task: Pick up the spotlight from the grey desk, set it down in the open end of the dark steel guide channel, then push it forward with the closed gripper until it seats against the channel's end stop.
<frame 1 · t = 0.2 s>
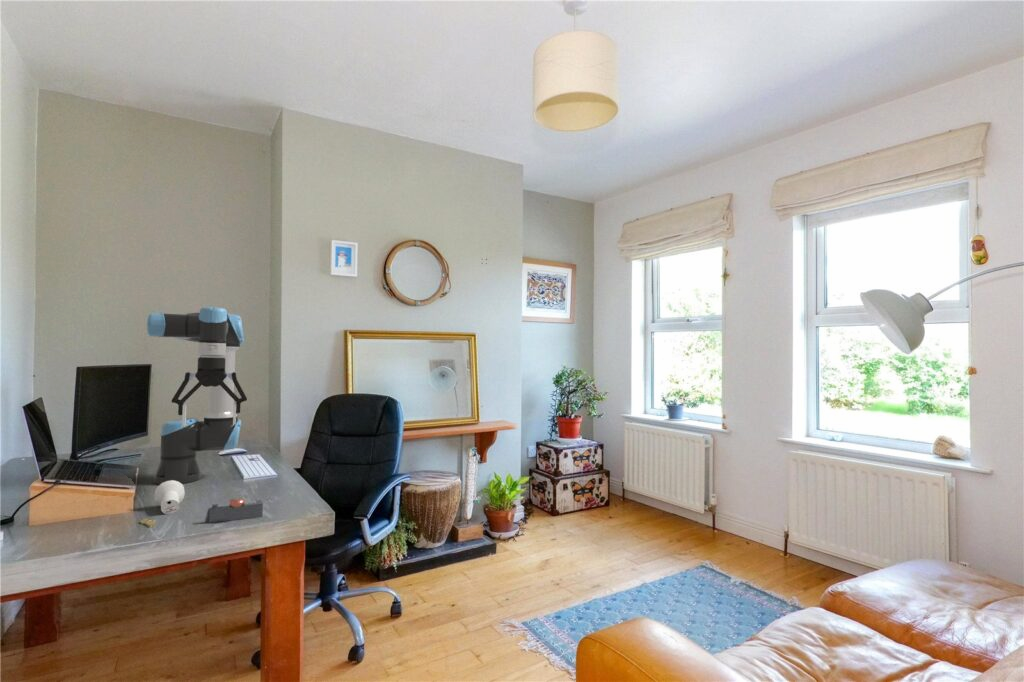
hand: (209, 424, 161), 27 cm above the table, fingers open, 13 cm apart
spotlight: (169, 509, 163), on the table
channel: (236, 512, 161), on the table
brass key: (150, 525, 148), on the table
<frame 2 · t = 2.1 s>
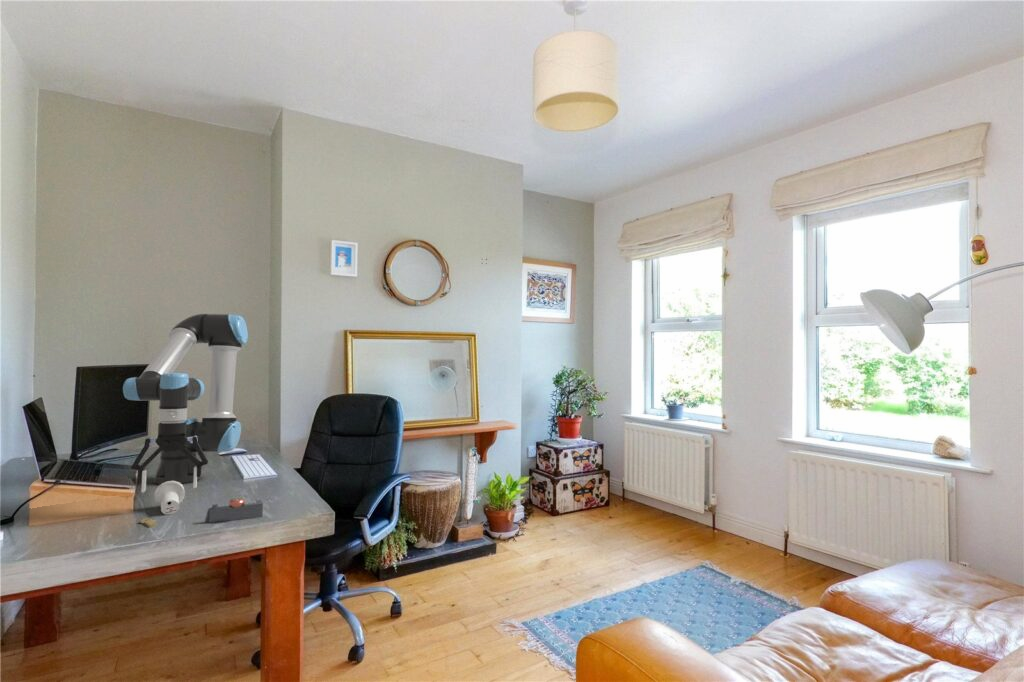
hand: (169, 489, 163), 6 cm above the table, fingers open, 13 cm apart
nothing on the table moved.
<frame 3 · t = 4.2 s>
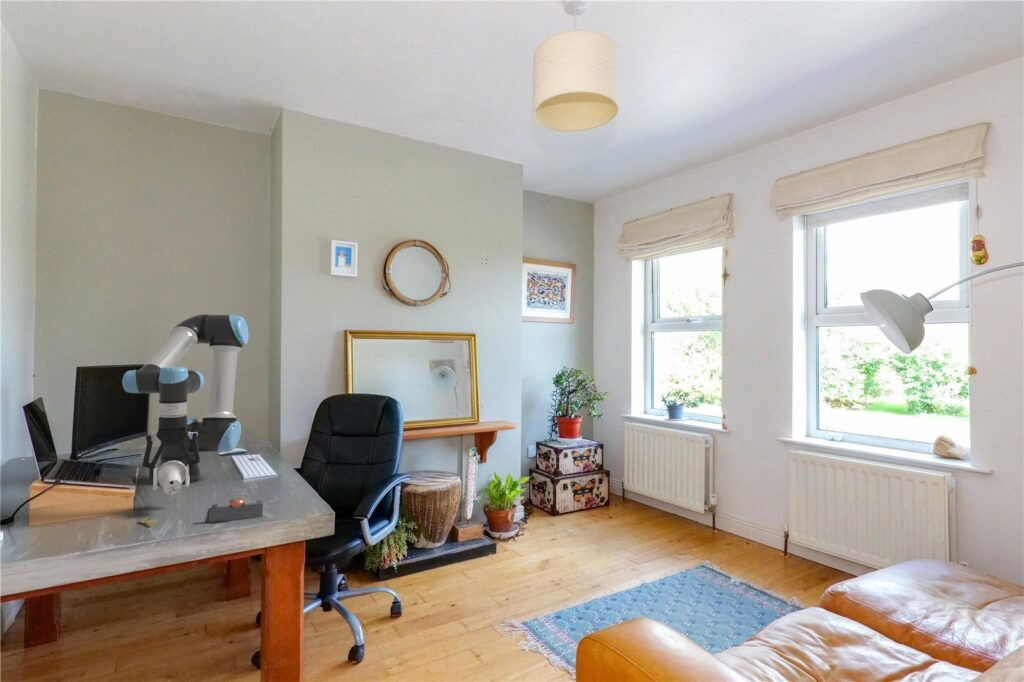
hand: (171, 486, 164), 7 cm above the table, fingers closed on spotlight, 8 cm apart
spotlight: (172, 489, 163), point 6 cm above the table, touching gripper
everything else where it was.
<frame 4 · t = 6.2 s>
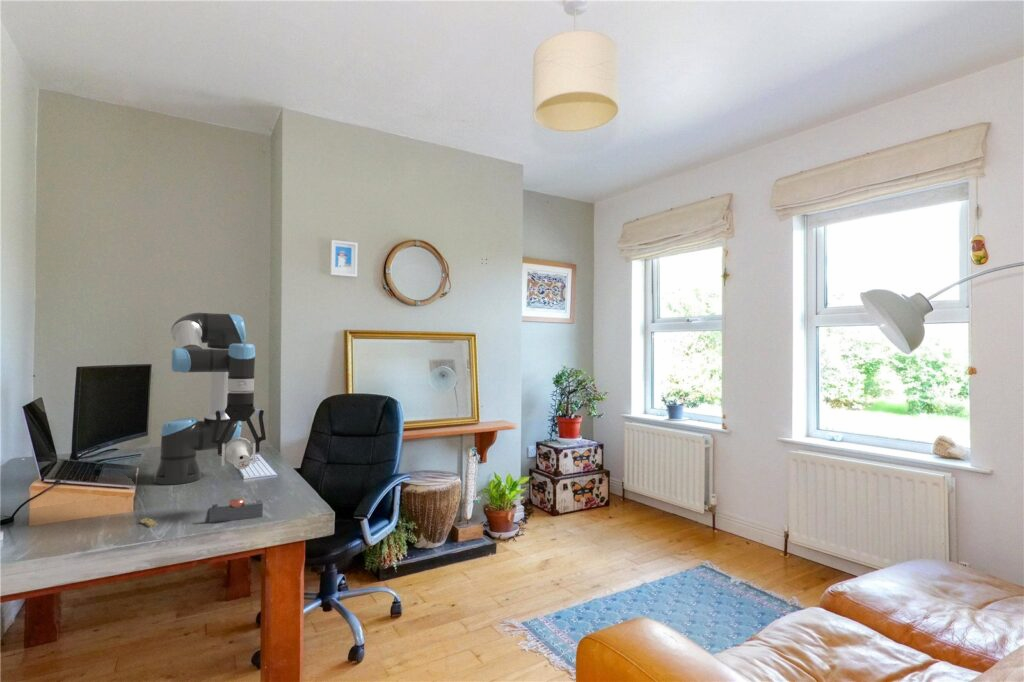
hand: (238, 463, 163), 15 cm above the table, fingers closed on spotlight, 8 cm apart
spotlight: (239, 466, 162), point 14 cm above the table, touching gripper
everything else where it was.
when the fingers open (2 cm above the table, at t = 8.5 s): spotlight stays where it is, resting on channel.
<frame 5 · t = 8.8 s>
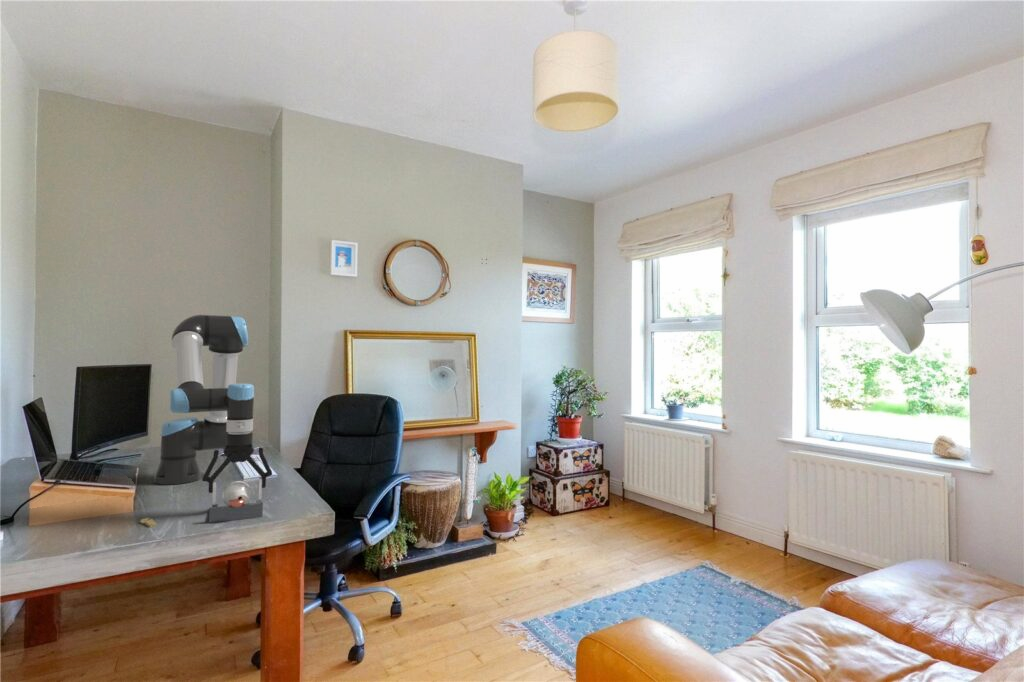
hand: (237, 500, 163), 3 cm above the table, fingers open, 12 cm apart
spotlight: (238, 509, 162), point 1 cm above the table, touching channel
everything else where it was.
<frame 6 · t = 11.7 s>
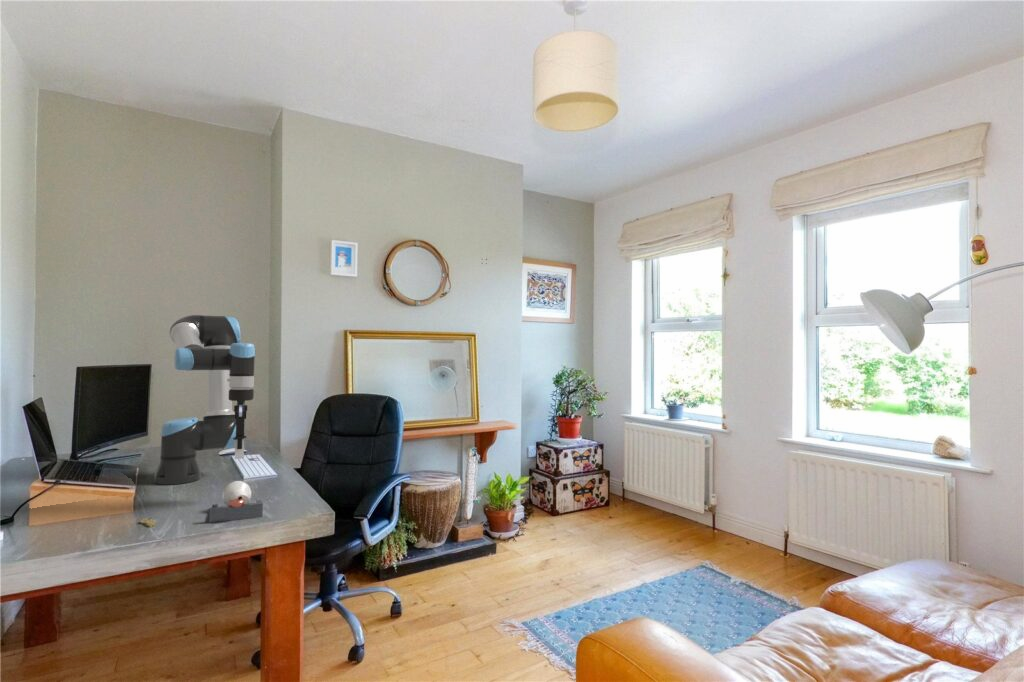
hand: (239, 458, 174), 14 cm above the table, fingers closed
nothing on the table moved.
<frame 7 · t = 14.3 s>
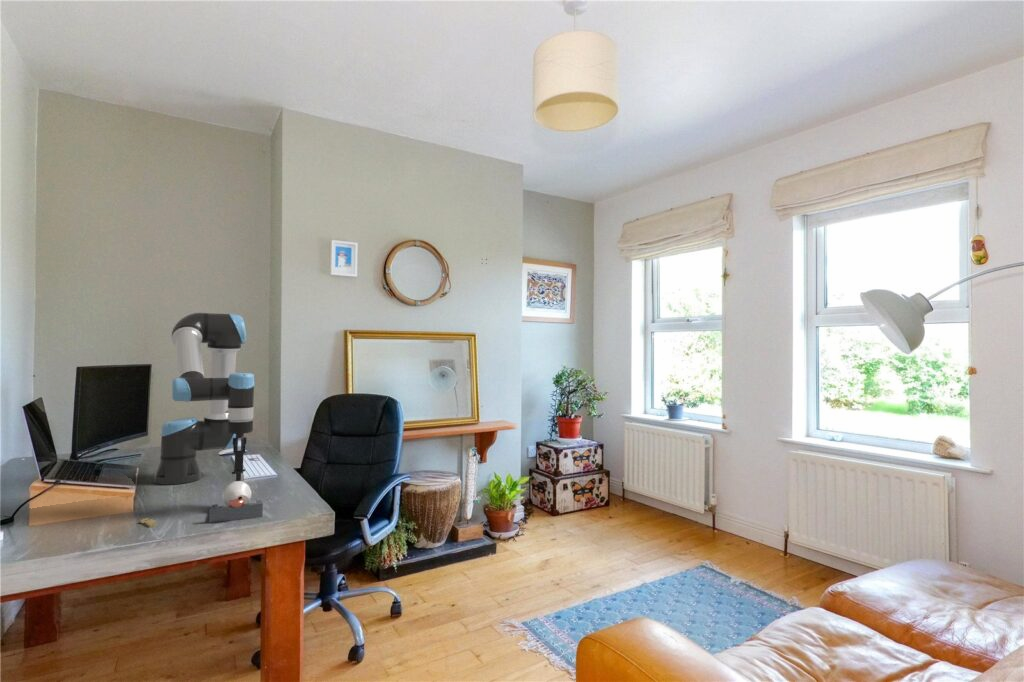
hand: (237, 492, 168), 4 cm above the table, fingers closed
spotlight: (238, 509, 162), point 1 cm above the table, touching channel, gripper
everything else where it was.
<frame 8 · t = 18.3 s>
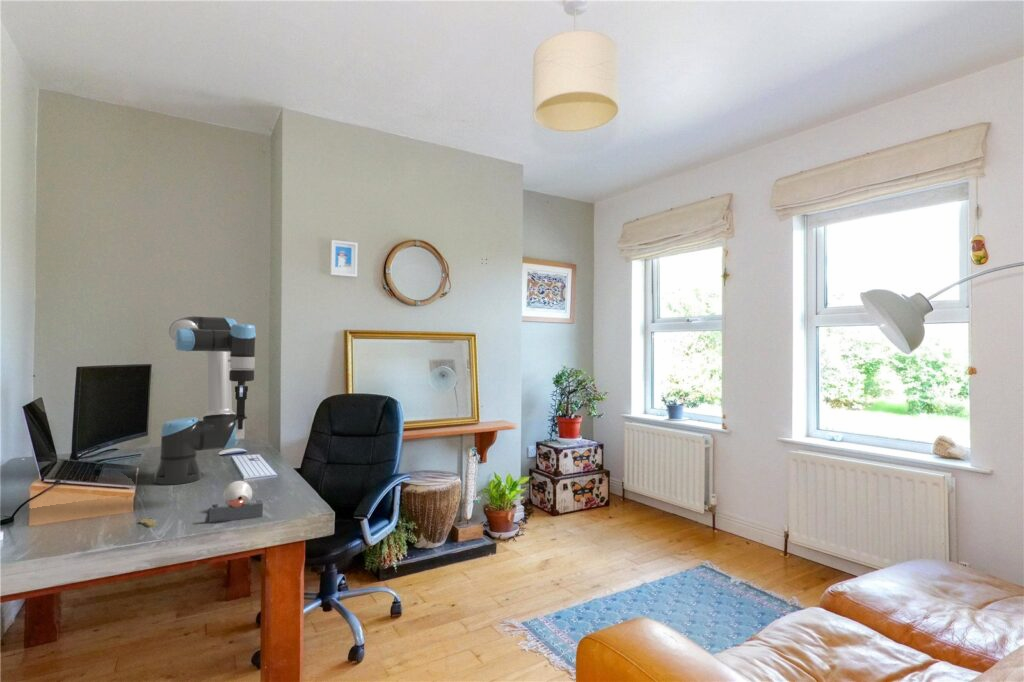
hand: (239, 438, 176), 20 cm above the table, fingers closed
spotlight: (238, 509, 162), point 1 cm above the table, touching channel
everything else where it was.
at the end: spotlight 2.2 cm from the target spot, point 0.6 cm above the table; spotlight point 0.6 cm above the table; the gripper is holding nothing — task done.
